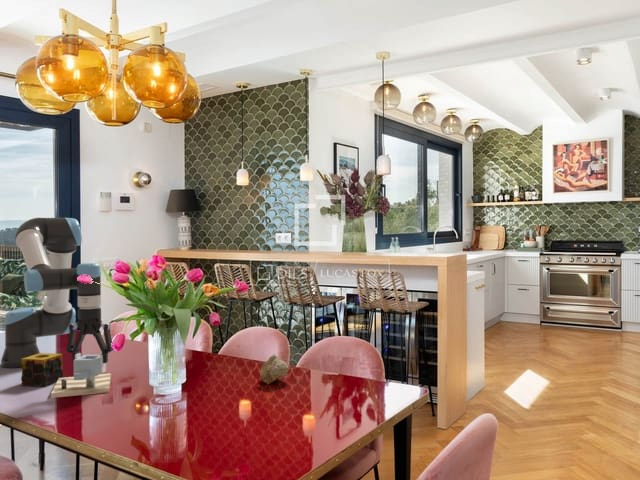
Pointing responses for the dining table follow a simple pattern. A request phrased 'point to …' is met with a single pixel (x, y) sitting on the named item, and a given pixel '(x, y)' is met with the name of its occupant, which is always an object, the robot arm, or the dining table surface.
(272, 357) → the rock
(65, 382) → the dowel
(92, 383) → the post
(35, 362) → the yellow black cube
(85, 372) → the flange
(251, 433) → the dining table surface
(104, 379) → the board
